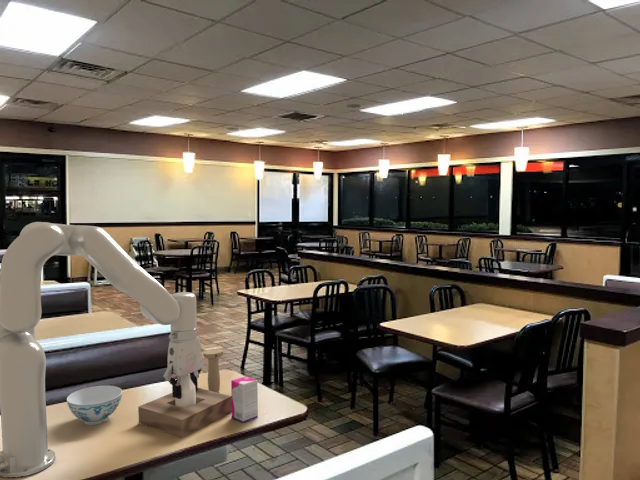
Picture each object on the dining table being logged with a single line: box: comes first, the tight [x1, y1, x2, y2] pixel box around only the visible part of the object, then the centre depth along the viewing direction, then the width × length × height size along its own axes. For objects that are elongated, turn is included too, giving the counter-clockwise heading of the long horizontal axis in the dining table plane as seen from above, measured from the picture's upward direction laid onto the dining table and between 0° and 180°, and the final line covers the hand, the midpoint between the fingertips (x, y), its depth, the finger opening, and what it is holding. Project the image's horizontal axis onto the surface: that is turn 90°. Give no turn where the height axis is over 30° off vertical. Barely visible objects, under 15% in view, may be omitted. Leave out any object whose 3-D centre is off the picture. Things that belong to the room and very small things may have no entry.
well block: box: [137, 387, 232, 439], centre depth 151 cm, size 20×18×5 cm
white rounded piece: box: [175, 374, 196, 409], centre depth 150 cm, size 6×12×6 cm
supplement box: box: [230, 375, 259, 424], centre depth 150 cm, size 6×6×12 cm
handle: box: [202, 348, 224, 393], centre depth 168 cm, size 5×6×15 cm
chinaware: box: [66, 385, 123, 426], centre depth 150 cm, size 15×15×8 cm
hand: (185, 393), depth 150 cm, fingers closed on white rounded piece, 5 cm apart
